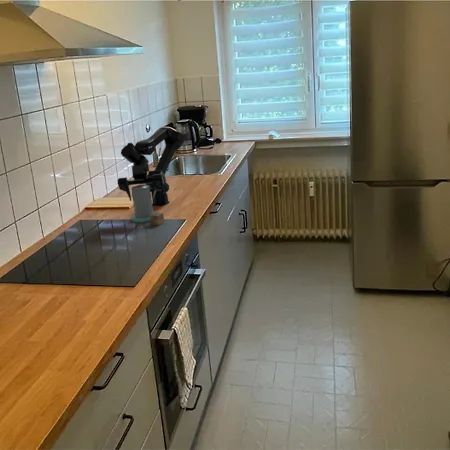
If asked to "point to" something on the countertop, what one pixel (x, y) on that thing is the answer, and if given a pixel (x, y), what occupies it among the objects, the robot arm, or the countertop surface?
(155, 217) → the walnut block
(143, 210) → the grey faceted cylinder
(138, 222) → the dish
